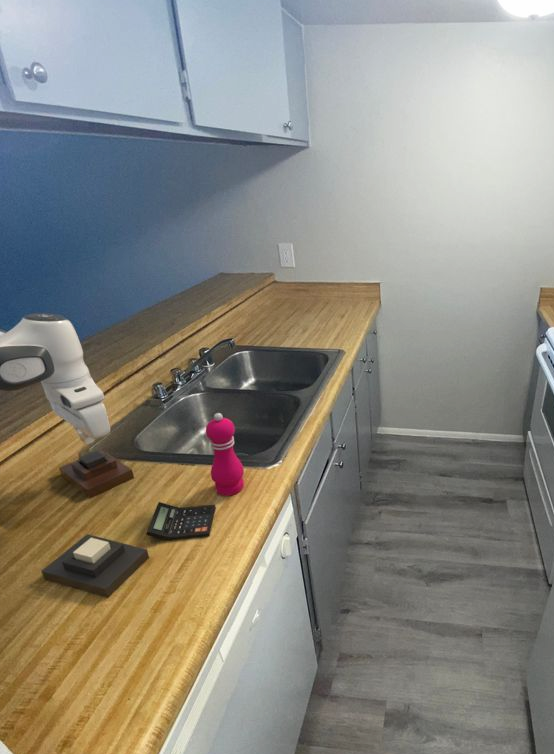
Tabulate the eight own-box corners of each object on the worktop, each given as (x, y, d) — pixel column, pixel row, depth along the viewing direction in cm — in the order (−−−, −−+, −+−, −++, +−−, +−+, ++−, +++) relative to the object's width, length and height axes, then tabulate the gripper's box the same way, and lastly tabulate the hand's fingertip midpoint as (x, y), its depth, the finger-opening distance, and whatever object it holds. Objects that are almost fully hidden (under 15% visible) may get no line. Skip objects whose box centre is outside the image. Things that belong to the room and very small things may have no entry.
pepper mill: (223, 477, 115) (210, 404, 106) (251, 480, 114) (240, 407, 105) (208, 495, 109) (193, 419, 99) (237, 499, 108) (225, 423, 99)
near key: (75, 559, 86) (72, 552, 85) (93, 544, 89) (91, 537, 88) (93, 564, 85) (90, 557, 84) (111, 549, 88) (108, 542, 87)
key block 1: (61, 476, 113) (56, 460, 111) (105, 458, 120) (100, 443, 118) (90, 498, 106) (84, 482, 104) (134, 478, 114) (130, 462, 111)
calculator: (209, 536, 97) (206, 525, 96) (148, 543, 95) (144, 531, 93) (215, 507, 105) (213, 496, 104) (159, 512, 103) (156, 502, 102)
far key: (80, 463, 111) (78, 457, 110) (98, 456, 114) (96, 450, 113) (88, 469, 109) (86, 463, 108) (106, 462, 112) (104, 456, 111)
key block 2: (44, 579, 86) (37, 563, 84) (90, 542, 94) (84, 526, 93) (108, 597, 83) (102, 581, 81) (149, 557, 91) (145, 542, 90)
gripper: (32, 379, 105) (52, 432, 112) (75, 405, 95) (94, 462, 101) (63, 370, 110) (81, 422, 116) (107, 394, 99) (124, 449, 106)
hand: (87, 441), depth 109 cm, fingers closed
